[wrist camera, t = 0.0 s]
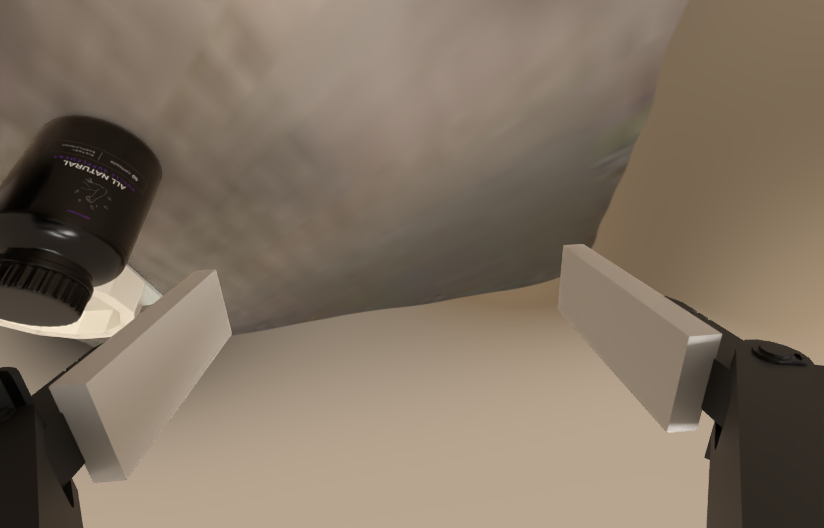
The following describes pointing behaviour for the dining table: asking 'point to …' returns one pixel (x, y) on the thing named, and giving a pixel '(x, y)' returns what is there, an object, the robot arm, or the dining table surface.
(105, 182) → the supplement bottle
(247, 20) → the dining table surface
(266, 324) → the dining table surface
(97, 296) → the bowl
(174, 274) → the dining table surface
